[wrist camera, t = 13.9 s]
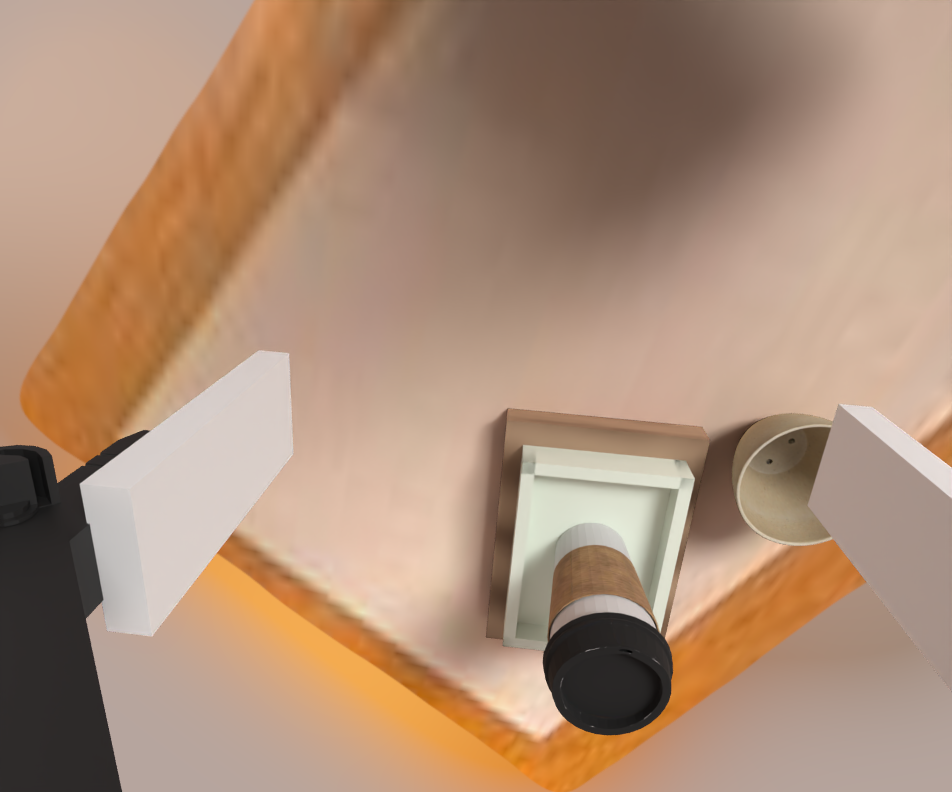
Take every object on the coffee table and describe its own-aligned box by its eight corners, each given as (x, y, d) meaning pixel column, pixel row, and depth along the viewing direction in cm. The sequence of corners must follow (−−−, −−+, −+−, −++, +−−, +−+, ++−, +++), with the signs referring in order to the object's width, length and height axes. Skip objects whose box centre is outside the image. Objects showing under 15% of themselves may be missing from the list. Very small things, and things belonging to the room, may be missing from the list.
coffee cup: (653, 518, 52) (698, 655, 38) (627, 601, 55) (660, 756, 41) (551, 500, 52) (558, 630, 38) (531, 583, 55) (531, 732, 41)
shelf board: (507, 408, 53) (506, 420, 50) (702, 426, 52) (710, 439, 50) (487, 618, 61) (486, 637, 59) (655, 637, 60) (660, 657, 58)
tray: (523, 444, 51) (522, 462, 48) (685, 460, 51) (694, 479, 48) (504, 622, 58) (502, 646, 55) (647, 638, 57) (653, 663, 54)
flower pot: (707, 499, 54) (731, 548, 48) (714, 390, 51) (741, 427, 44) (829, 496, 53) (871, 545, 47) (845, 385, 50) (893, 421, 43)
